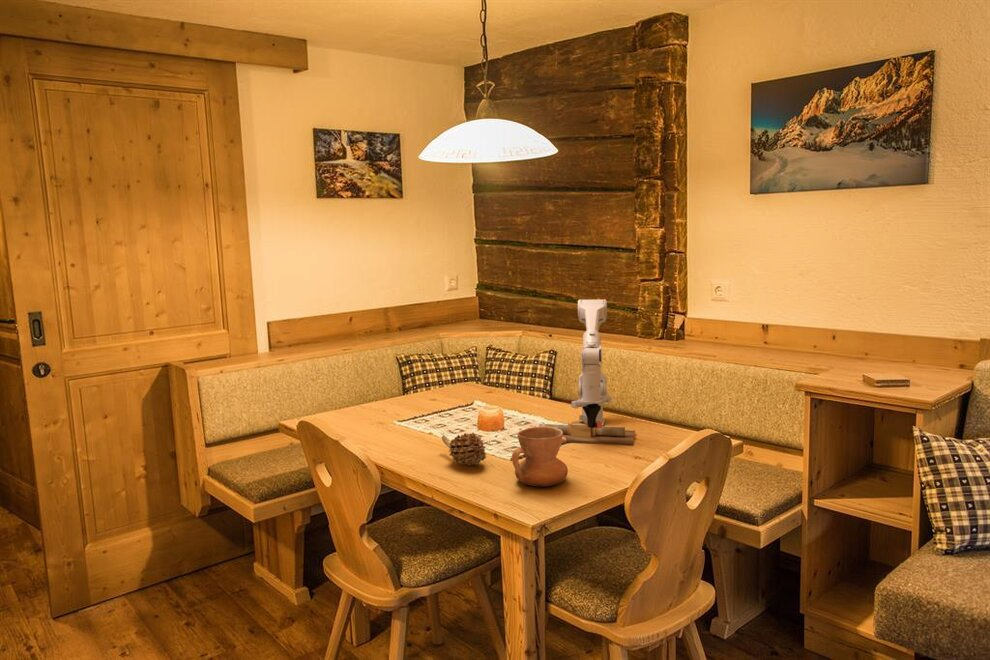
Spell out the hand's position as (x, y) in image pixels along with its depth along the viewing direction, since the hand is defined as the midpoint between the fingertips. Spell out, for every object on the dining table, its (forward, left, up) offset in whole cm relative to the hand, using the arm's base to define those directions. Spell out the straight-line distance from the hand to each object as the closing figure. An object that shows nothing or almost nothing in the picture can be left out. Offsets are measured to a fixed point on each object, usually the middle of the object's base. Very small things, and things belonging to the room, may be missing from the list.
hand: (591, 427), depth 236 cm
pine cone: (+24, -37, -6) cm, 44 cm away
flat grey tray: (-7, -4, -6) cm, 10 cm away
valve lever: (-3, -1, 0) cm, 4 cm away
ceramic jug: (+37, -11, -6) cm, 39 cm away
